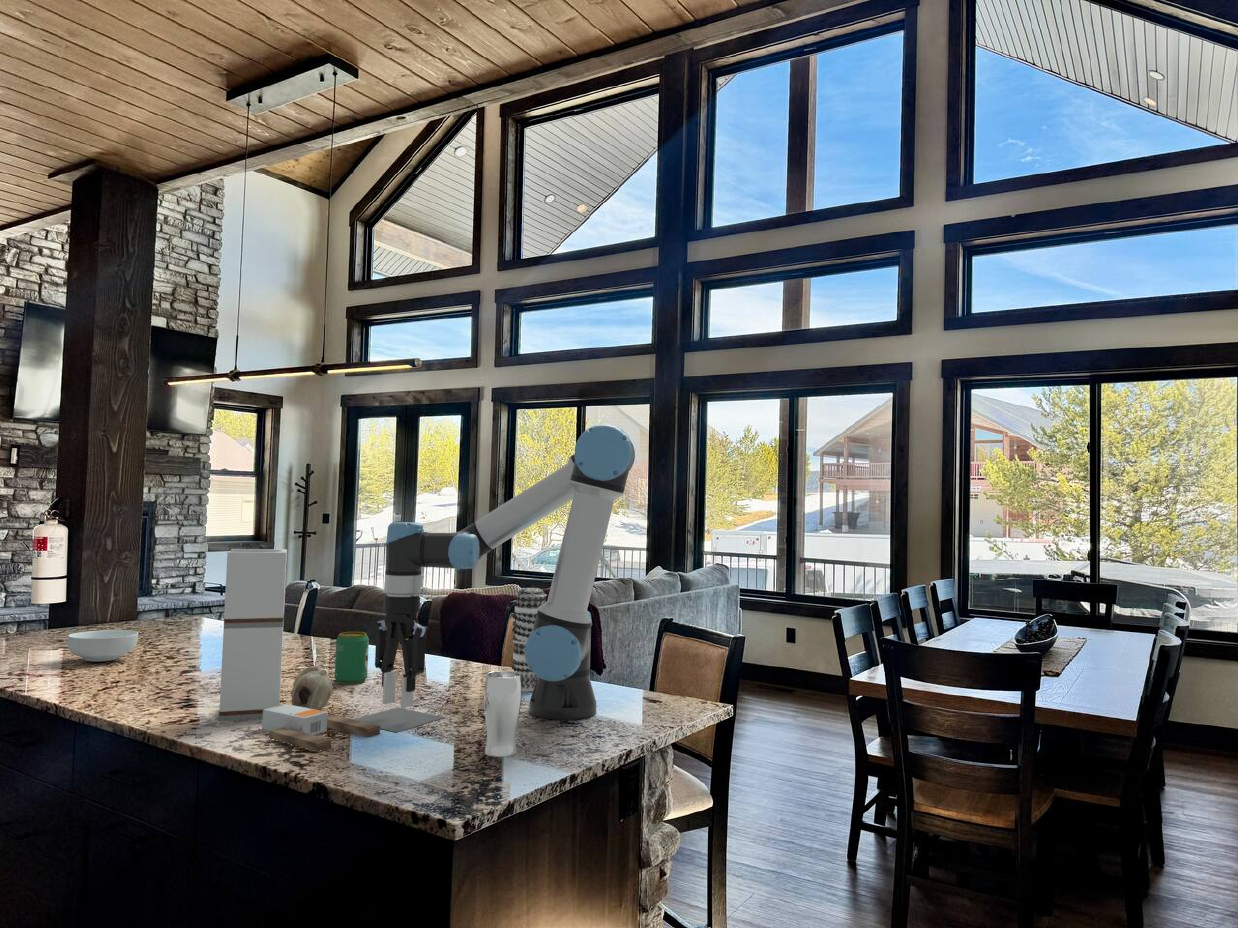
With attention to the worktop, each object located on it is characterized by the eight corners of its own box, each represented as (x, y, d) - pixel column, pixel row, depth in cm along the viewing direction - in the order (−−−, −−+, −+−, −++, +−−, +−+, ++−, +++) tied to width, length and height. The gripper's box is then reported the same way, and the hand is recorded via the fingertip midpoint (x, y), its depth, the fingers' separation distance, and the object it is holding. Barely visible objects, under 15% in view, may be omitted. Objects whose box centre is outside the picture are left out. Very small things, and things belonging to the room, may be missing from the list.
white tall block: (279, 705, 184) (287, 549, 186) (278, 717, 174) (286, 552, 176) (223, 709, 180) (231, 548, 182) (218, 721, 170) (227, 552, 172)
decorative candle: (503, 689, 205) (507, 589, 206) (517, 682, 214) (520, 586, 215) (538, 693, 203) (542, 591, 204) (550, 685, 212) (553, 587, 213)
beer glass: (520, 749, 157) (523, 670, 158) (517, 761, 150) (520, 678, 151) (484, 748, 157) (487, 669, 158) (479, 760, 150) (482, 677, 151)
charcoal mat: (444, 719, 177) (444, 717, 177) (396, 734, 165) (396, 731, 165) (397, 709, 184) (397, 707, 184) (348, 723, 172) (348, 720, 172)
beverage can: (368, 683, 208) (370, 635, 209) (335, 685, 205) (337, 637, 206) (365, 676, 215) (367, 630, 216) (333, 678, 212) (335, 631, 213)
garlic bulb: (290, 708, 182) (292, 662, 183) (330, 706, 185) (332, 661, 186) (289, 719, 173) (291, 671, 174) (331, 716, 176) (333, 669, 177)
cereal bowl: (149, 658, 231) (150, 633, 231) (85, 667, 217) (86, 640, 217) (117, 651, 240) (118, 626, 240) (54, 659, 226) (55, 633, 226)
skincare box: (304, 717, 159) (261, 709, 165) (303, 739, 159) (260, 730, 165) (328, 710, 165) (286, 703, 170) (327, 732, 165) (285, 724, 170)
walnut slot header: (379, 735, 163) (380, 725, 164) (317, 754, 151) (318, 743, 151) (332, 724, 171) (332, 714, 171) (268, 741, 158) (269, 730, 158)
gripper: (445, 596, 174) (441, 707, 173) (386, 589, 183) (381, 695, 182) (420, 599, 168) (415, 715, 167) (359, 592, 177) (354, 701, 176)
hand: (397, 704), depth 174 cm, fingers open, 5 cm apart
